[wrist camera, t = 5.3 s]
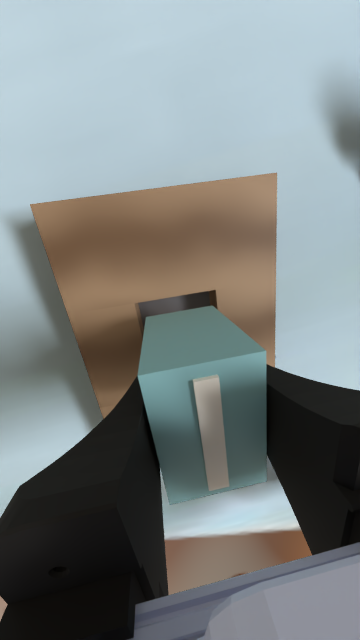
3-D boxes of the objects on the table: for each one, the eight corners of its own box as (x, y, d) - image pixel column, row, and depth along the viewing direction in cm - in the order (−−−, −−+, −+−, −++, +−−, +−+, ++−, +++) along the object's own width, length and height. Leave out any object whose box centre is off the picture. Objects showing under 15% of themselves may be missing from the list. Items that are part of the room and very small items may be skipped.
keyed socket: (260, 410, 20) (274, 430, 18) (124, 440, 19) (119, 465, 17) (256, 186, 14) (277, 172, 12) (52, 214, 13) (29, 204, 11)
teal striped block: (220, 388, 14) (268, 485, 8) (163, 399, 13) (170, 509, 8) (212, 305, 12) (269, 353, 6) (146, 316, 11) (136, 378, 6)
